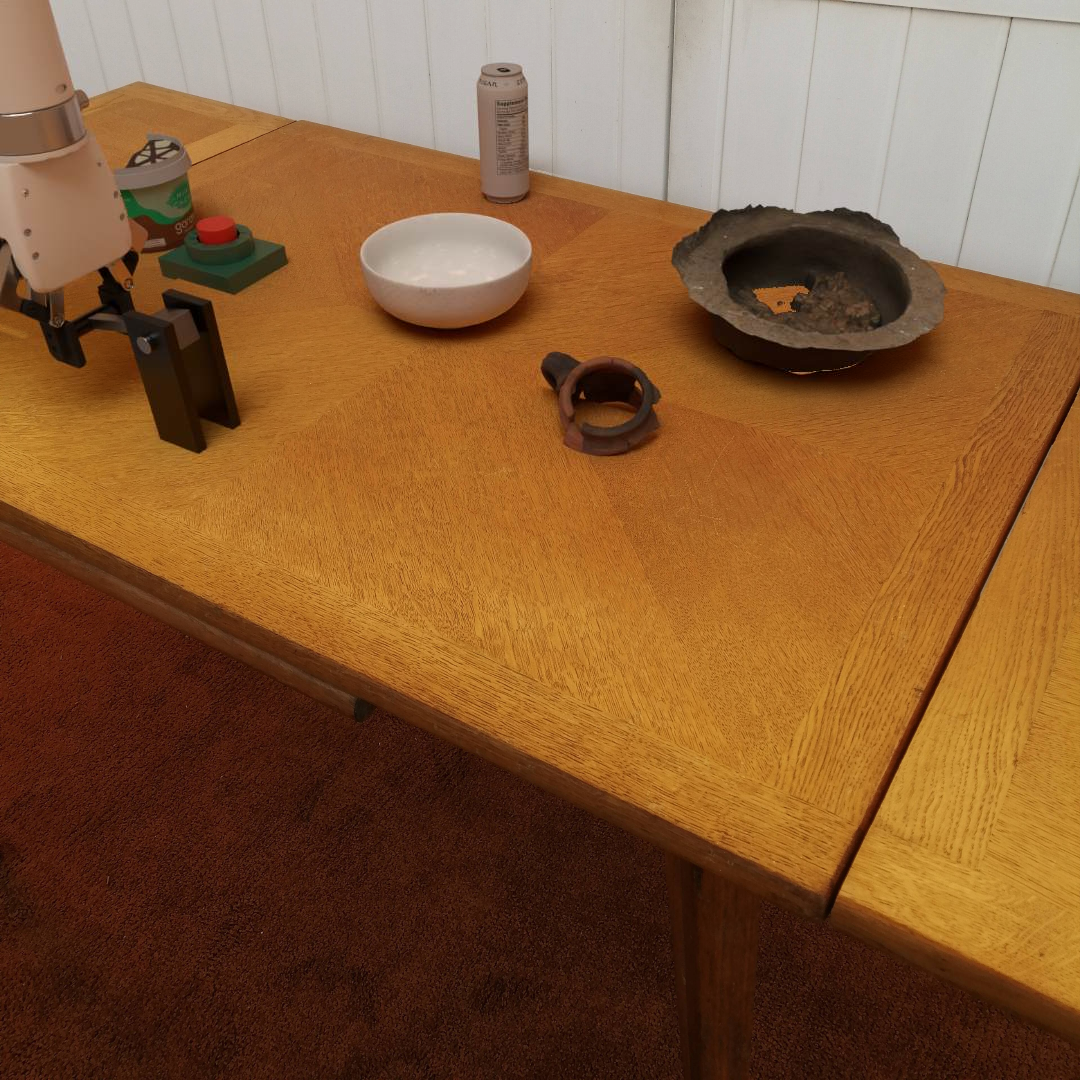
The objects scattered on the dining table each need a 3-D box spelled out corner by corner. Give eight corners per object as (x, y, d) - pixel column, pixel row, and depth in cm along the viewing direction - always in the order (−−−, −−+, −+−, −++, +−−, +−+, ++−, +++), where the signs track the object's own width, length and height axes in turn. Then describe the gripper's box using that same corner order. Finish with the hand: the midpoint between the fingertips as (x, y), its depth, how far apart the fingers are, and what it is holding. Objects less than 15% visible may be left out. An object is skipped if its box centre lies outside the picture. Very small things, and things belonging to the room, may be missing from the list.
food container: (191, 259, 112) (168, 170, 106) (136, 260, 112) (110, 170, 106) (219, 215, 121) (200, 131, 115) (169, 215, 122) (147, 131, 115)
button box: (162, 276, 109) (153, 241, 106) (220, 246, 115) (213, 212, 112) (231, 297, 105) (223, 261, 103) (288, 264, 111) (281, 229, 108)
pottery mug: (681, 424, 87) (686, 379, 79) (617, 506, 85) (616, 468, 77) (572, 354, 90) (566, 304, 83) (507, 432, 88) (495, 388, 81)
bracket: (122, 451, 84) (75, 312, 76) (191, 405, 89) (154, 271, 81) (219, 490, 80) (181, 348, 71) (286, 439, 85) (257, 302, 77)
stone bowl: (723, 259, 111) (739, 176, 104) (949, 328, 102) (981, 243, 96) (624, 355, 94) (637, 264, 88) (884, 447, 86) (918, 353, 80)
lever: (68, 346, 82) (54, 319, 80) (115, 320, 85) (103, 294, 84) (166, 358, 76) (154, 329, 74) (213, 330, 79) (202, 301, 78)
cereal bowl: (335, 330, 99) (324, 264, 95) (420, 264, 111) (414, 201, 106) (486, 367, 94) (482, 298, 89) (559, 293, 105) (560, 228, 101)
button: (191, 242, 107) (187, 226, 106) (218, 228, 110) (214, 213, 109) (219, 249, 106) (216, 233, 104) (245, 236, 108) (242, 220, 107)
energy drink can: (513, 183, 129) (510, 58, 119) (538, 198, 125) (537, 70, 115) (473, 193, 126) (466, 66, 117) (496, 208, 123) (491, 79, 113)
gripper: (85, 86, 79) (143, 296, 91) (-115, 152, 68) (-19, 382, 80) (154, 101, 76) (204, 316, 88) (-43, 172, 65) (46, 408, 77)
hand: (98, 345), depth 84 cm, fingers closed on lever, 5 cm apart
